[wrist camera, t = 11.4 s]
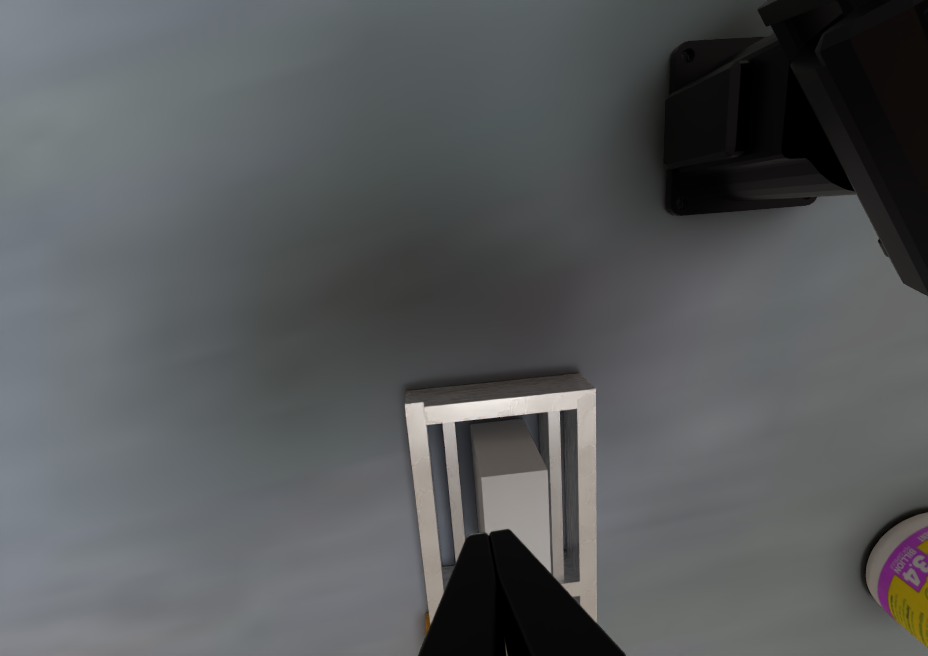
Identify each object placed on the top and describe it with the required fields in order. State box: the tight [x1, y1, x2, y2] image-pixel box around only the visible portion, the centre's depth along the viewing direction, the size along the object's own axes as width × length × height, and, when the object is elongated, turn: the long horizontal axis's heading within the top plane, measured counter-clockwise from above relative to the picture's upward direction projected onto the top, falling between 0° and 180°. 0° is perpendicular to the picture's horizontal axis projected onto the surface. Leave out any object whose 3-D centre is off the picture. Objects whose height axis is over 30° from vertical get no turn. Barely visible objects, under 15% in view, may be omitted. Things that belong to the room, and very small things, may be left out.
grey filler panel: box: [470, 419, 551, 573], centre depth 20 cm, size 2×6×4 cm, turn 4°
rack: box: [405, 373, 597, 635], centre depth 22 cm, size 8×20×2 cm, turn 4°
